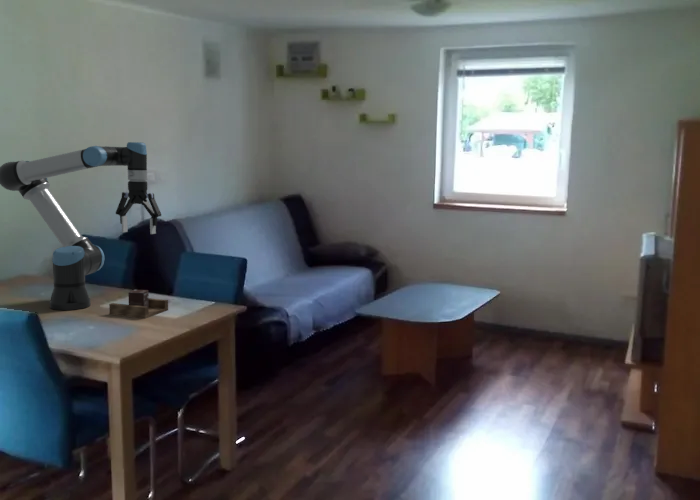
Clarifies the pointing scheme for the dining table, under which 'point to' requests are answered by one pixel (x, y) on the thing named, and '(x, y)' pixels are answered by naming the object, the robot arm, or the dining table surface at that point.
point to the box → (139, 298)
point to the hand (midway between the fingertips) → (138, 232)
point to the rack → (139, 309)
